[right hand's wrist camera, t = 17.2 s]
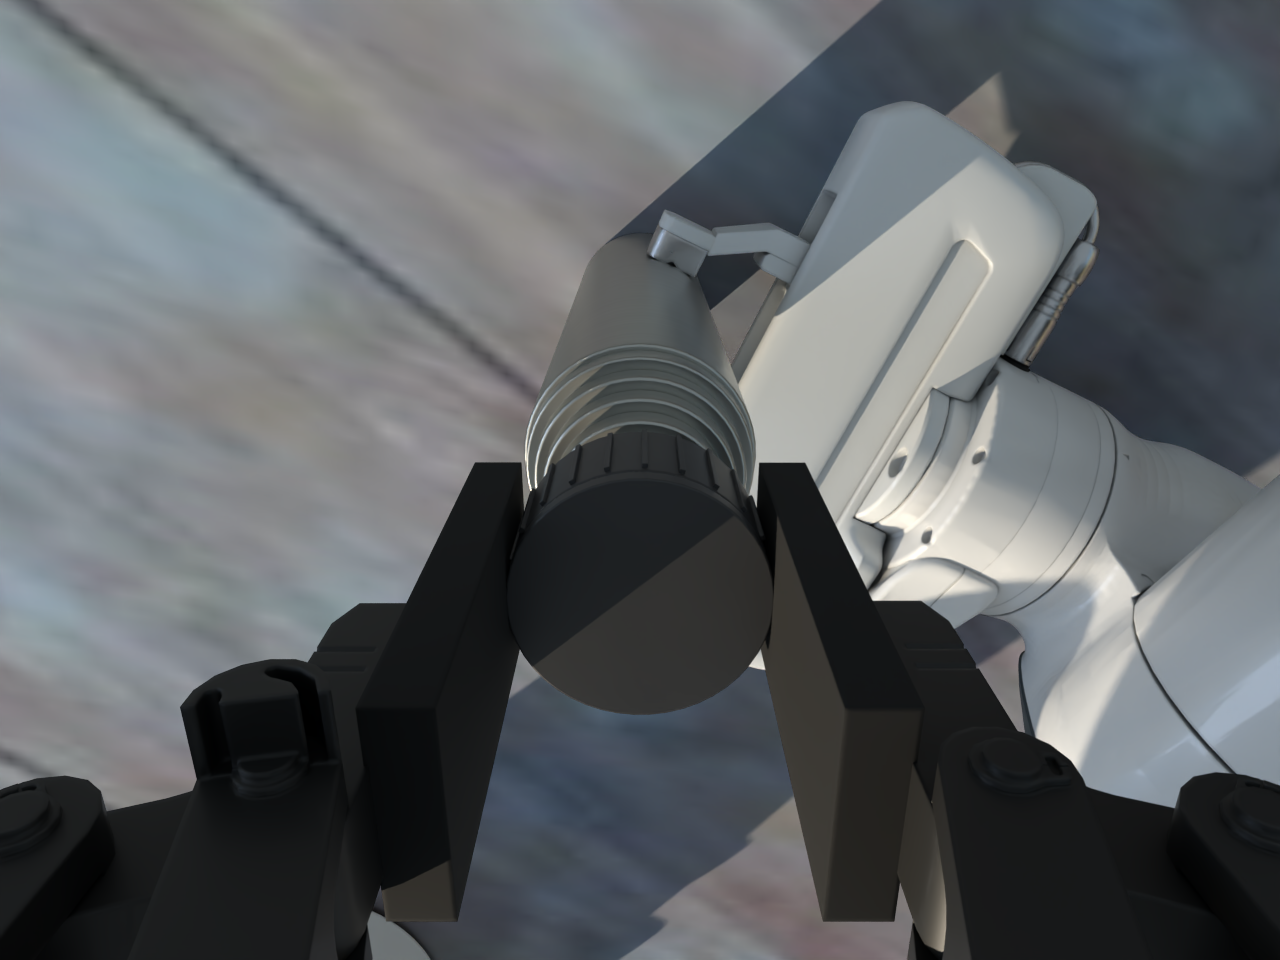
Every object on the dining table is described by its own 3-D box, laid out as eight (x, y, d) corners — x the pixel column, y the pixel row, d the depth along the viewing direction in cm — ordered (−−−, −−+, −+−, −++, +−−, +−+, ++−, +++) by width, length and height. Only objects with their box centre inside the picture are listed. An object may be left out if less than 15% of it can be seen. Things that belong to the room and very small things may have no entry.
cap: (693, 677, 16) (701, 754, 14) (483, 591, 15) (459, 660, 13) (804, 489, 14) (830, 545, 12) (578, 386, 14) (568, 429, 12)
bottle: (557, 282, 36) (411, 560, 13) (651, 207, 35) (673, 366, 12) (629, 373, 38) (612, 769, 15) (722, 304, 37) (863, 613, 13)
